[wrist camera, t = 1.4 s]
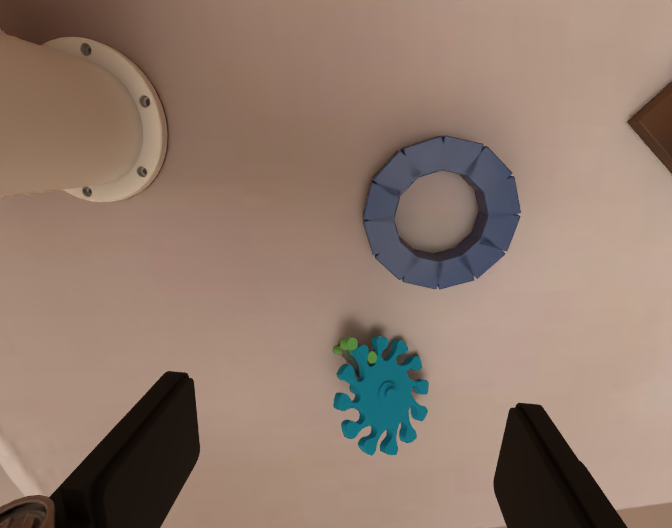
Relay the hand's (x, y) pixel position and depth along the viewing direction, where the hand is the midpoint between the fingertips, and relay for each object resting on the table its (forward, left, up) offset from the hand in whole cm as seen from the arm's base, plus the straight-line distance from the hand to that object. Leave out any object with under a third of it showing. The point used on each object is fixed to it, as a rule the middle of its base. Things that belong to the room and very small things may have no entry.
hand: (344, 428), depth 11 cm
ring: (+3, +6, -22) cm, 23 cm away
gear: (+10, -8, -23) cm, 26 cm away
